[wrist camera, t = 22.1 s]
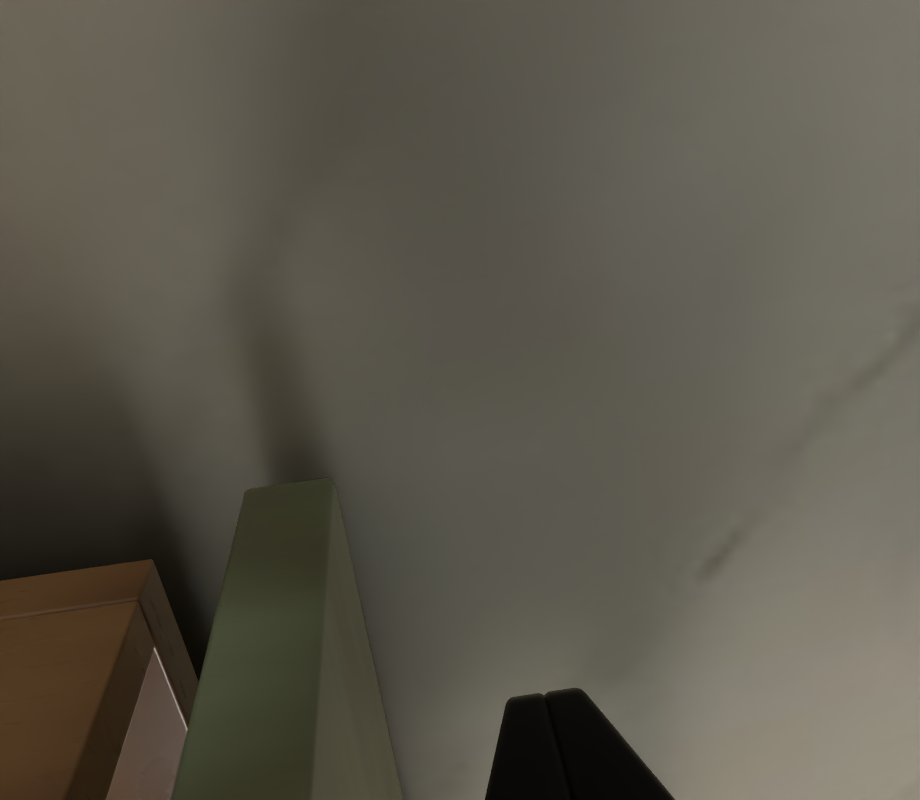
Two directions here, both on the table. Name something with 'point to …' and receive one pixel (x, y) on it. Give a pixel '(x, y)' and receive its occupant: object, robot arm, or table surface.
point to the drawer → (222, 678)
